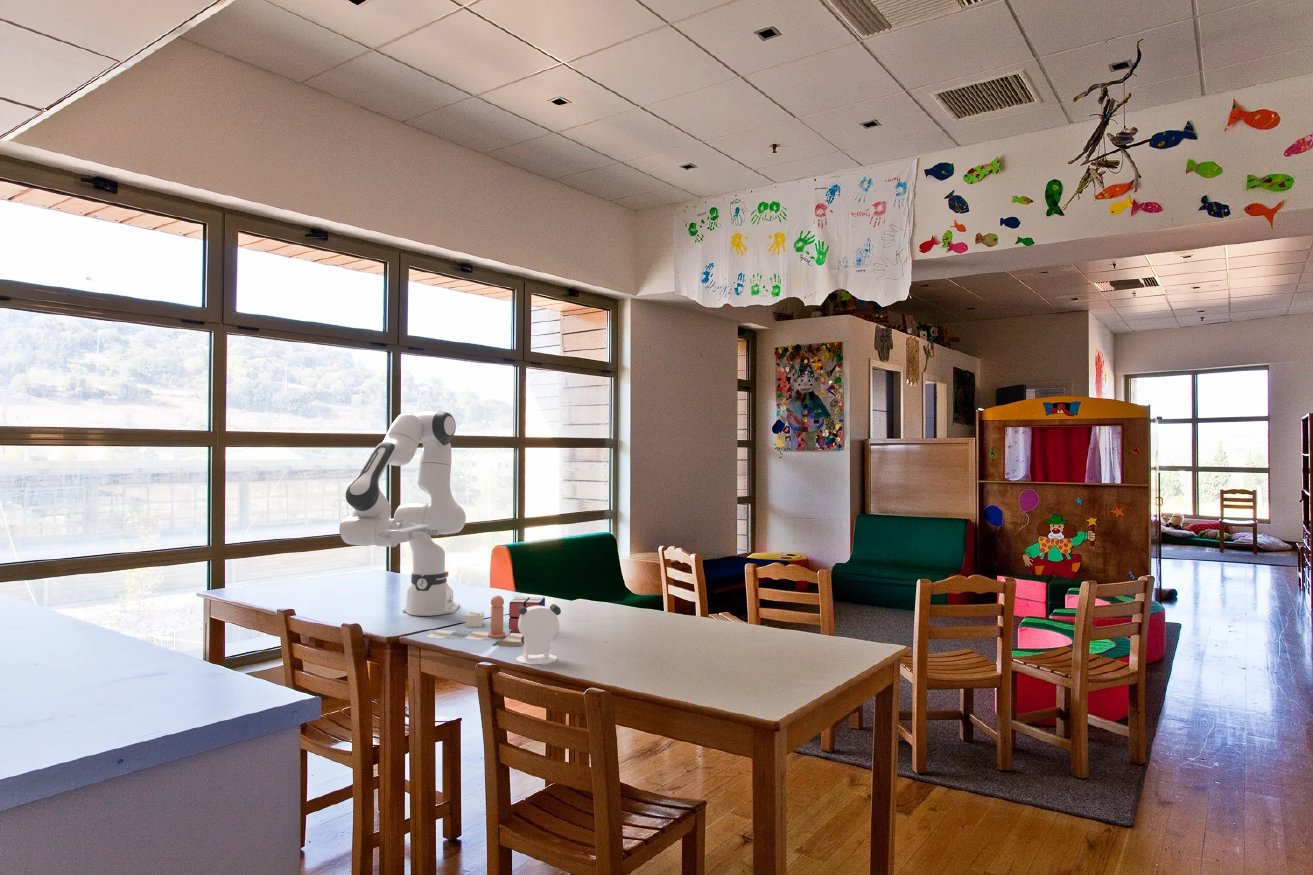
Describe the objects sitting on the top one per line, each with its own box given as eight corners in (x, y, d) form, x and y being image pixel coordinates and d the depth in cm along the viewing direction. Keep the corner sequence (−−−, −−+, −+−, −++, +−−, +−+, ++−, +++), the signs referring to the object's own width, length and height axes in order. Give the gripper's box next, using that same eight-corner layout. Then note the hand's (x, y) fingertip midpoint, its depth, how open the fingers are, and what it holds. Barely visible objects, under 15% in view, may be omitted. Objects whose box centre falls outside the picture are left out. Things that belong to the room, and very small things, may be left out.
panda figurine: (553, 652, 234) (554, 601, 234) (563, 662, 223) (564, 608, 224) (512, 655, 230) (513, 603, 230) (520, 666, 219) (521, 611, 219)
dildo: (491, 633, 250) (492, 593, 250) (507, 634, 250) (508, 594, 250) (485, 637, 245) (486, 596, 245) (502, 638, 245) (503, 597, 245)
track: (438, 633, 255) (438, 629, 255) (530, 637, 252) (530, 633, 252) (424, 641, 244) (424, 637, 244) (520, 646, 241) (520, 641, 241)
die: (468, 627, 265) (468, 612, 265) (483, 627, 265) (483, 612, 265) (465, 630, 260) (465, 615, 260) (481, 630, 260) (481, 615, 260)
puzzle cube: (539, 633, 258) (540, 602, 258) (508, 633, 258) (509, 601, 258) (544, 626, 268) (545, 596, 268) (514, 626, 268) (515, 596, 268)
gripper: (375, 525, 244) (419, 526, 242) (404, 519, 264) (444, 521, 262) (374, 546, 244) (418, 547, 242) (403, 539, 264) (444, 540, 262)
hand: (432, 533), depth 252 cm, fingers open, 8 cm apart
